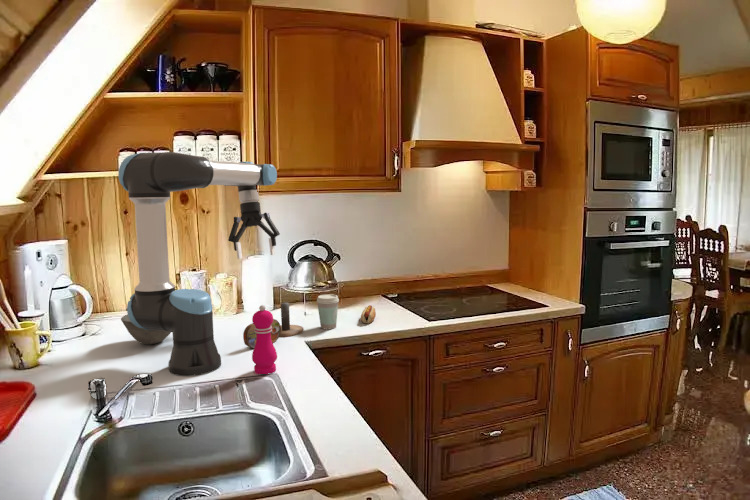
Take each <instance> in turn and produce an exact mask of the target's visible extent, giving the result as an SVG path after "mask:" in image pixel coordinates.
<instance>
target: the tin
mask: <svg viewBox="0 0 750 500" xmlns="http://www.w3.org/2000/svg"><path fill="white" fill-rule="evenodd" d="M280 325H281V324H280V321H278V320H277V319H275V318H273V322H272V324H271V326H272V331H271V340H272V343H273V344H274V343H275V342H277V341H278V339H279V338H280V337H279V336H280V333H281V326H280ZM255 327H256V326H255V325H254V324H253V322H252V323H250V324H248V325H247V326H246V327H245V329H244V330H243V333H242V335H243V336H242V338H243V339H242V340H243V343H244V345H245V346H246V347H248V348H251V349H254V347H255V345H256V338H257V336H256V333H255V329H254V328H255Z"/></svg>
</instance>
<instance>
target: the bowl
mask: <svg viewBox="0 0 750 500" xmlns="http://www.w3.org/2000/svg"><path fill="white" fill-rule="evenodd" d="M120 321H121V322H122V323H123V325H124V327H125V328H126V330H127V332H128V334H130V335H131V337H132V338H133V339H134V340H136V341H137V342H139V344H143V345H154V344H159V343H161V342H163V341H164V340H165V339H166V338H168V337H169V336H170V335H171V333H172V332H165V331H156V330H146V329H143V328H139V327H137V326H135V325H134V324H133V323H132V322H131V321H130V319H129V317H128V313H127V314H126V315H123V316H122V317H121V318H120Z"/></svg>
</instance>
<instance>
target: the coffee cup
mask: <svg viewBox="0 0 750 500" xmlns="http://www.w3.org/2000/svg"><path fill="white" fill-rule="evenodd" d="M339 302H340V299H339V296H338V295H337V294H332V293H329V294H320V295H318V296H317V299H316V303H317V309H318V310H317V311H318V316H319V323H320V328H321V329H323V330H333V329H335V328H337V324H338V323H337V322H338V321H337V320H338V312H339V311H338V310H339Z"/></svg>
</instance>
